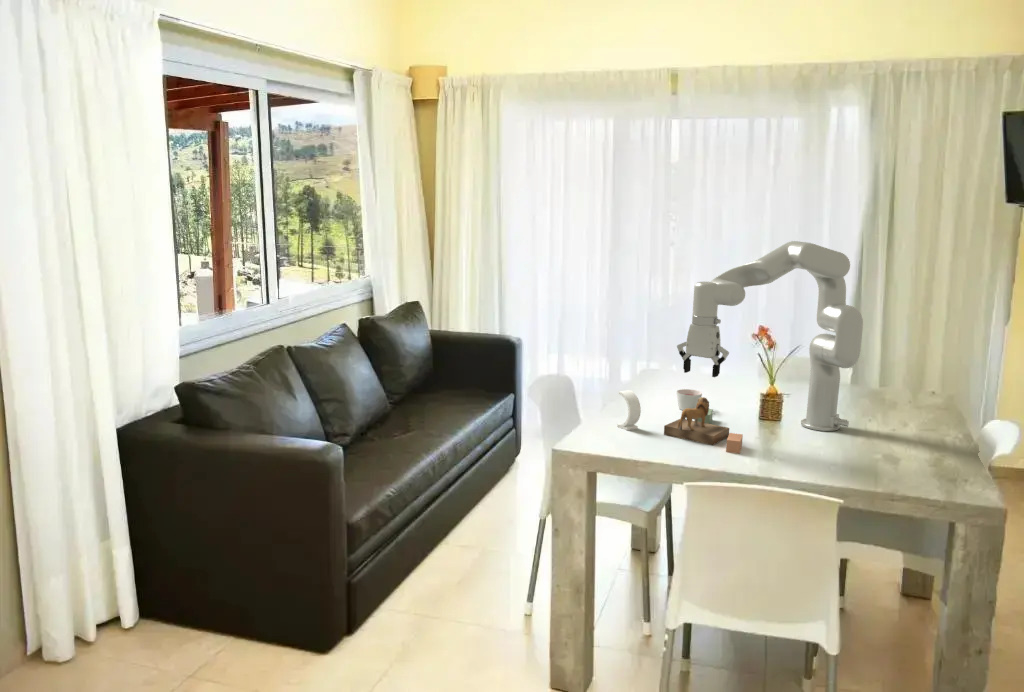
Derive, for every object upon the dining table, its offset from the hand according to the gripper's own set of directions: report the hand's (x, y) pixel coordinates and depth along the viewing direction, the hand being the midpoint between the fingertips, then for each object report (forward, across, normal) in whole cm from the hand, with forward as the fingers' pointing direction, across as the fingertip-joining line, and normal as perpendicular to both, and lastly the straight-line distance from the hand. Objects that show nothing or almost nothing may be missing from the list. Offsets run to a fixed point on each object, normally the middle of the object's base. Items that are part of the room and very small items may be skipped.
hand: (701, 374), depth 270 cm
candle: (+21, +17, -29) cm, 39 cm away
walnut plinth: (+20, 0, 0) cm, 20 cm away
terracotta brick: (+20, -15, +6) cm, 26 cm away
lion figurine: (+18, +1, +1) cm, 18 cm away
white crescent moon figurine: (+20, +21, +7) cm, 30 cm away
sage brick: (+21, +5, -17) cm, 27 cm away
